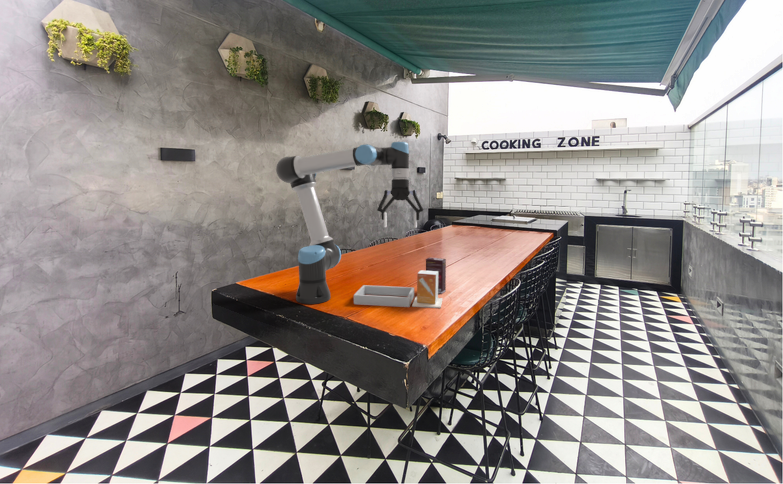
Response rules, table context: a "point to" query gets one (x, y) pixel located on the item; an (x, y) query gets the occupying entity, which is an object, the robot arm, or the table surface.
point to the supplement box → (439, 266)
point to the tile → (437, 305)
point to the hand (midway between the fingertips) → (400, 227)
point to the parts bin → (384, 300)
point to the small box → (427, 287)
